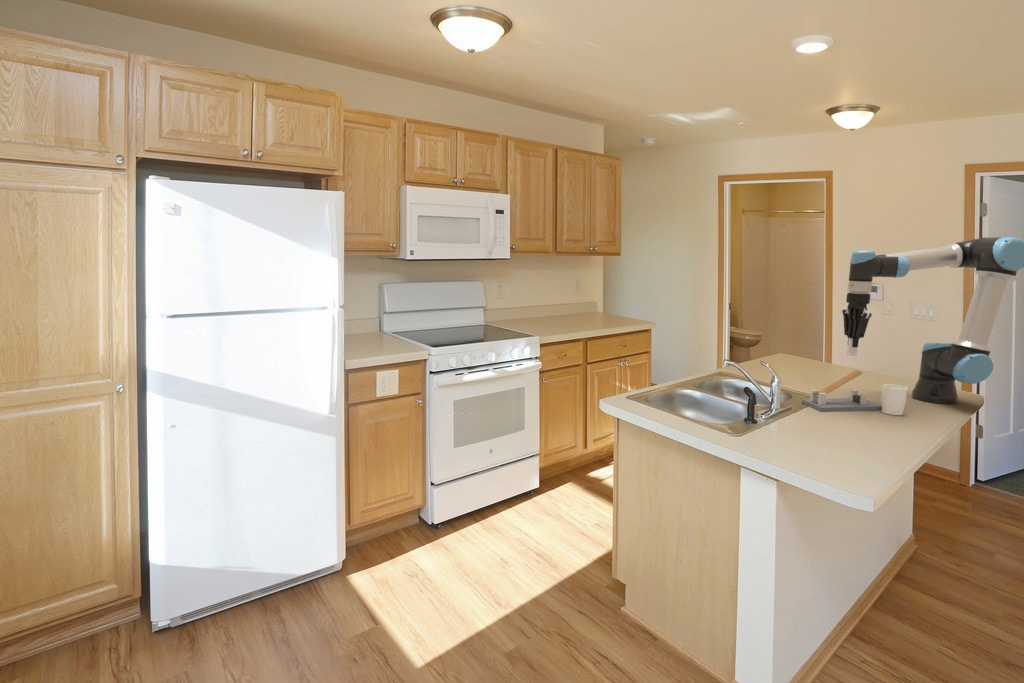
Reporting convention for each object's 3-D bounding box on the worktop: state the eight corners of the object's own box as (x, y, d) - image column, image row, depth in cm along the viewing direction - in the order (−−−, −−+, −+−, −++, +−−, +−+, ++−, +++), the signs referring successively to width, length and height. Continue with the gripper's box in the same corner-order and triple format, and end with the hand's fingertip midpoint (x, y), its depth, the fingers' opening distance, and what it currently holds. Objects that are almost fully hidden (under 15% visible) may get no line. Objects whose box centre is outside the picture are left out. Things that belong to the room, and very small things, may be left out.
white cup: (908, 416, 208) (912, 389, 207) (884, 415, 210) (887, 388, 208) (899, 410, 216) (902, 384, 214) (875, 409, 217) (878, 383, 216)
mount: (861, 401, 228) (863, 386, 227) (883, 410, 216) (885, 394, 215) (801, 402, 225) (803, 387, 224) (821, 411, 214) (822, 395, 213)
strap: (857, 372, 221) (855, 369, 221) (862, 374, 218) (861, 371, 218) (814, 397, 221) (813, 394, 221) (819, 399, 218) (818, 396, 217)
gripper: (837, 291, 220) (831, 352, 224) (861, 294, 207) (854, 358, 211) (856, 291, 221) (849, 352, 225) (881, 294, 208) (873, 358, 212)
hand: (851, 355), depth 218 cm, fingers closed
